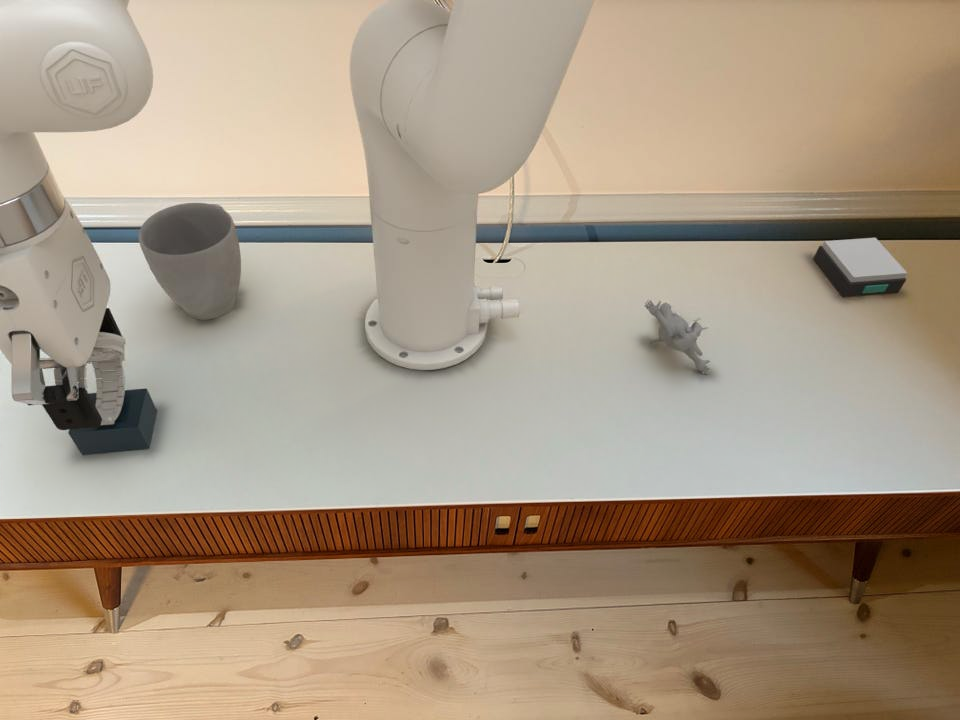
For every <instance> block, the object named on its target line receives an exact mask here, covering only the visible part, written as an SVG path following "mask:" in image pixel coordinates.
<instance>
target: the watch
mask: <svg viewBox="0 0 960 720" xmlns="http://www.w3.org/2000/svg"><path fill="white" fill-rule="evenodd" d="M125 345H126V338H124V336H122V337H121V336H119V335H116V334H111V333H105V332H99V333H98V336H97V340H96V343H95V346H94V348H93V351H92V354H91V356H90V357H89V359H88V360H87V361H86V362H85V363H84V364H83V365H82V366H80V367H75V372H76V378H77V383H78V388H85V389H86V391H87V392H88V394H89V396H90V398H91V400H92V401H93V403H94V405H95V407H96V409H97V410H98V412H99V414H100V416H101V418H102V422H101V425H100V426H99V427H92V428H81V429H72V430H68V433H67V434H68V435H69V437H70V439H71V440H72V441H73V443H74V445H75V446H76V448H77V449H78V451H79V453H80V454H81V456H89V455H100V454H110V453H120V452H128V451H129V452H130V451H140V450H150V449H151V448H150V447H151V444H152V438H153V433H154V428H155V424H156V418H157V413H158V409H157V407H156V405H155V403H154V400H153V398H152V397H151V394H150V392H149V389H148V388H147V387H145V388H135V389H133V388H132V389H126V379H125V378H126V377H125V369H124V366H123V365H124V364H123V362H125V361H126V359H125V357H126V354H125V352H126V351H125V349H126V348H125V347H126V346H125ZM90 364H91V365H92V368H93V372H94V377H95V384H96V392H89V391H88V384H87V383H88V382H87V370H88V369H87V366H88V365H90ZM53 378H54V384H55V385H63V383H62V378H61V373H60V368H53Z"/></svg>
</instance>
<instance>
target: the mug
mask: <svg viewBox="0 0 960 720" xmlns="http://www.w3.org/2000/svg"><path fill="white" fill-rule="evenodd" d="M236 228H237V227H236V225H235V222H234V220H233V217H232V216H231V215H230V213H229V212H228V211H226V210H225V208H224V207H222V206H221V205H220V204H218V203H206V202H186V203H179V204H175V205H171V206H168V207H165V208H163V209H161V210H159V211H157V212H154V213H153V214H152V215H150V216H149V217H148V218H147V219H146V220H145V221H144V222H143V223H142V224H141V226H140V229H139V233H138V241H139V245H140V249H141V251H142V254H143V256H144V258H145V261H146V263H147V265H148V267H149V269H150V271H151V273H152V275H153V276H154V278H155V280H156V281H157V282H158V284H159V286H160V288H161V289H162V290H163V291H164V293H166V295H167V296H168V297H169V298H170V299H171V300H172V301H173V302H174V303H176V304H177V305H178V306H179V307H180V308H182V309H183V311H184V312H185V313H186V314H187V316H189V317H190V318H193V319H196V320H202V321H203V320H214V319H217V318H220V317H223V316H225V315H227V314H228V313H229V312H231V311H232V309H233V308H234V306H235V305H236V302H237V294H238V290H239V287H240V282H241V274H242V257H241V256H242V255H241V249H240V242H239V236H238V232H237V229H236Z"/></svg>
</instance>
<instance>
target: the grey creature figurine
mask: <svg viewBox="0 0 960 720" xmlns="http://www.w3.org/2000/svg"><path fill="white" fill-rule="evenodd" d="M644 308H645V309H646V310H648V313H649V314H650V315H651V316H653V317H655V318H656V320H657V321H658V323H659V326H658V330H657V336H658V338H656V339H653V340H649V344H653V343H654V344H655V343H663V344H664V346H666V347H667V348H669V349H672V350H675V351H678V352H681V353H683V354H685V355H686V356H687V357H688V358H689V359H690V360H691V361H693V363H694V365H695V367H696V369H697V370H698V371H700V372H701V373H702V374H705V375H707V374H709V373H710V372H711V371H712V369H711V368H709V367H708V366H707V365H708V363H711V359H701V358H700V357H702V356H703V352H702V349H700V347H699V345H698V344H697V340H698V338H699V337H700V336H701V333H702V331H704V330H707V329H709V327H708V326H702V325H701V324H700V323H699V322H698V321H700V320H701V317H697V318H694V319H693V320H691V321H690V322H687V321H686V320H685V319H684V318H683V317H682V315H681V313H680V312H679V311H676V312H673V310H672V308H673V304H672V302H670V301H666V302H664V303H662V301H661V300H660V301H658V303H657V304H656V305H655V304H654V303H653V301H652V299H649V300H646V302H644Z"/></svg>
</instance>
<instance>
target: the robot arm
mask: <svg viewBox="0 0 960 720" xmlns="http://www.w3.org/2000/svg"><path fill="white" fill-rule="evenodd" d="M129 2H130V0H0V352H1V353H2V354H3V356H4V357H5V359H6V360H7V361H8V362H9V363H10V365H11V397H12V401H14V402H17V403H21V404H26V405H28V406H39V405H41V406H42V407H43V410H44V411H45V412H46V413H47V415H48V416H49V418H50V420H51V421H52V423H53V425H54V427H55V428H56V429H58V430H60V431H69V430H72V429H81V428H92V427H99V426H100V425H101V422H102V418H101V416H100V414H99V412H98V410H97V409H96V407H95V405H94V403H93V401H92V400H91V398H90V396H89V394H88V393H89V391H88V390H87V389H85V388H78V383H79V382H77V378H76V372H75V367H80V366H82V365H83V364H84V363H85V362H86V361H87V360H88V359H89V357H90V356H91V354H92V351H93V348H94V346H95V343H96V340H97V336H98V333H99V332H105V333H111V334H116V335H119V336H121V337H123V335H122V333H121V331H120V328H119V326H118V324H117V321H116V319H115V317H114V316H113V313H112V311H111V309H110V307H107V306H108V303H109V299H110V295H111V280H110V277H109V276H108V273H107V271H106V269H105V267H104V265H103V262H102V260H101V258H100V257H99V254H98V253H97V251H96V249H95V246H94V244H93V243H92V241H91V239H90V237H89V235H88V234H87V231H86V230H85V228H84V226H83V224H82V222H81V220H80V219H79V218H78V216H77V215H76V213H75V211H74V210H73V207H71V205H70V203H69V202H68V201H67V199H66V198H65V196H64V195H63V193H62V191H61V189H60V186H59V184H58V182H57V180H56V178H55V175H54V173H53V171H52V169H51V167H50V165H49V163H48V161H47V158H46V156H45V153H44V151H43V149H42V147H41V145H40V143H39V140H38V139H37V136H36V134H35V133H86V132H98V131H103V130H109V129H112V128H115V127H118V126H121V125H123V124H125V123H128V122H129V121H130V120H132V119H133V118H135V117H136V116H138V115H139V113H140V112H141V111H142V110H143V109H144V107H145V106H146V105H147V103H148V101H149V99H150V97H151V95H152V91H153V85H154V71H153V70H154V69H153V65H152V60H151V56H150V54H149V51H148V48H147V46H146V44H145V42H144V40H143V38H142V36H141V34H140V32H139V30H138V27H137V26H136V24H135V22H134V20H133V18H132V16H131V13H130V12H129V10H128V6H129ZM594 2H595V0H453V3H452V7H451V10H448V9H446V8H445V7H443V6H442V5H439V4H437V3H436V2H432V1H429V0H388V1H386V2H384V3H382V4H381V5H379V6H377V7H375V9H374V10H373V11H371V12H370V13H369V14H368V15H367V17H365V18H364V20H363V21H362V23H361V24H360V26H359V28H358V30H357V32H356V34H355V37H354V39H353V42H352V46H351V51H350V57H349V81H350V89H351V96H352V101H353V105H354V106H353V107H354V110H355V115H356V119H357V124H358V128H359V133H360V137H361V143H362V147H363V153H364V161H365V167H366V176H367V187H368V196H369V212H370V213H369V215H370V223H371V235H372V246H373V257H374V258H373V259H374V260H373V261H374V269H375V281H376V293H377V297H376V298H375V299H374V300H373V301H372V303H370V305H369V306H368V309H367V311H366V313H365V318H364V329H365V335H366V339H367V342H369V344H370V346H371V348H372V349H373V350H374V351H375V352H376V354H377V355H378V356H380V357H381V358H383V359H384V360H385V361H387V362H389V363H391V364H394V365H396V366H399V367H402V368H405V369H410V370H419V371H433V370H440V369H445V368H446V369H447V368H449V367H452V366H455V365H457V364H459V363H462V362H464V361H466V360H467V359H468V358H470V357H471V356H472V355H474V354H475V353H476V352H477V351H478V350H479V349H480V348H481V346H482V345H483V343H484V341H485V339H486V335H487V331H488V324H489V322H490V319H502V320H504V319H518V318H519V317H520V312H521V311H520V302H519V299H518V298H510V299H504V290H503V287H502V286H489V287H486V288H485V287H484V288H480V285H475V272H476V271H475V270H476V269H475V268H476V249H477V248H476V247H477V243H476V242H477V226H478V225H477V223H478V204H479V194H485V193H488V192H491V191H493V190H495V189H497V188H499V187H501V186H502V185H504V184H505V183H507V182H508V181H509V180H510V179H511V178H513V177H514V176H515V175H516V174H517V173H518V172H519V170H520V169H521V168H522V167H523V166H524V165H525V163H526V162H527V160H528V158H529V157H530V155H531V154H532V153H533V151H534V150H535V147H536V145H537V143H538V141H539V140H540V137H541V135H542V133H543V130H544V128H545V126H546V124H547V121H548V119H549V116H550V114H551V111H552V110H553V107H554V104H555V102H556V100H557V97H558V93H559V92H560V89H561V87H562V85H563V81H564V79H565V77H566V74H567V72H568V69H569V67H570V64H571V62H572V59H573V57H574V54H575V51H576V49H577V47H578V44H579V41H580V39H581V36H582V34H583V33H584V32H583V31H584V29H585V27H586V24H587V21H588V19H589V17H590V14H591V11H592V9H593V6H594ZM41 352H42V353H44V354H45V355H46V356H48V357H41ZM55 368H60V373H61V378H62V383H63V385H53V384H52V385H46V382H45V377H44V371H43V370H45V369H55ZM86 390H87V391H88V392H87V391H86Z"/></svg>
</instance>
